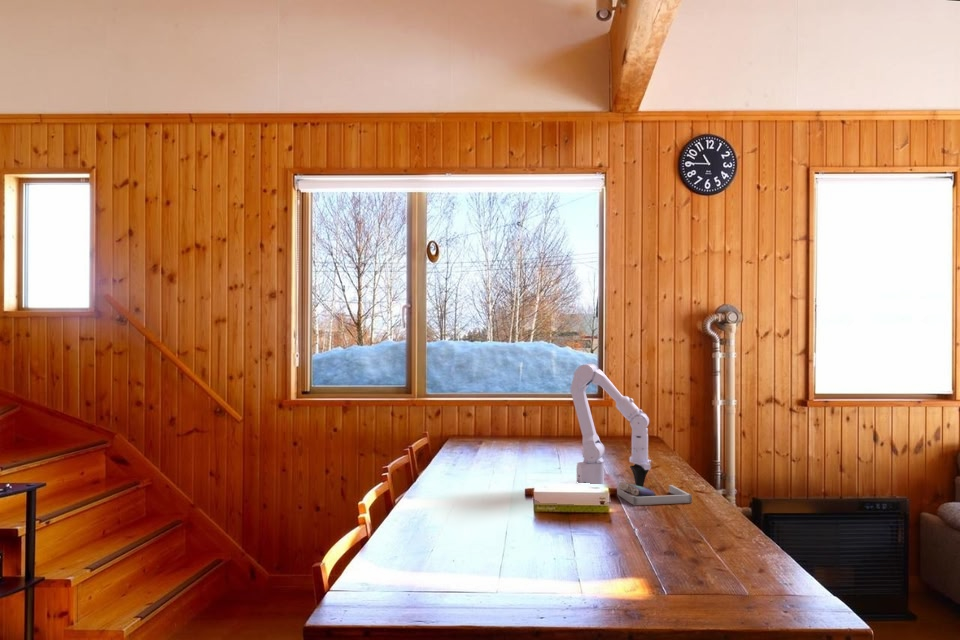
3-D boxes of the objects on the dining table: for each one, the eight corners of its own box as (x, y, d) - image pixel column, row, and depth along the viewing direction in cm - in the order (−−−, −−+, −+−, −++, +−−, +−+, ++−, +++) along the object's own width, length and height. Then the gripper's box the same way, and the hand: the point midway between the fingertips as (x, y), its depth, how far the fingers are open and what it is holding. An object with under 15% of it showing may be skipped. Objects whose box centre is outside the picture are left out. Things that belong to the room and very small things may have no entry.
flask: (633, 491, 253) (613, 487, 247) (635, 483, 253) (616, 479, 247) (654, 500, 246) (635, 496, 239) (657, 491, 246) (637, 487, 240)
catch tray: (633, 505, 238) (633, 497, 238) (617, 494, 253) (617, 487, 253) (691, 502, 242) (691, 495, 242) (671, 492, 256) (671, 484, 256)
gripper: (659, 451, 252) (658, 490, 253) (642, 444, 267) (642, 481, 267) (639, 451, 251) (639, 491, 251) (624, 444, 266) (623, 482, 266)
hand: (639, 486), depth 259 cm, fingers closed
